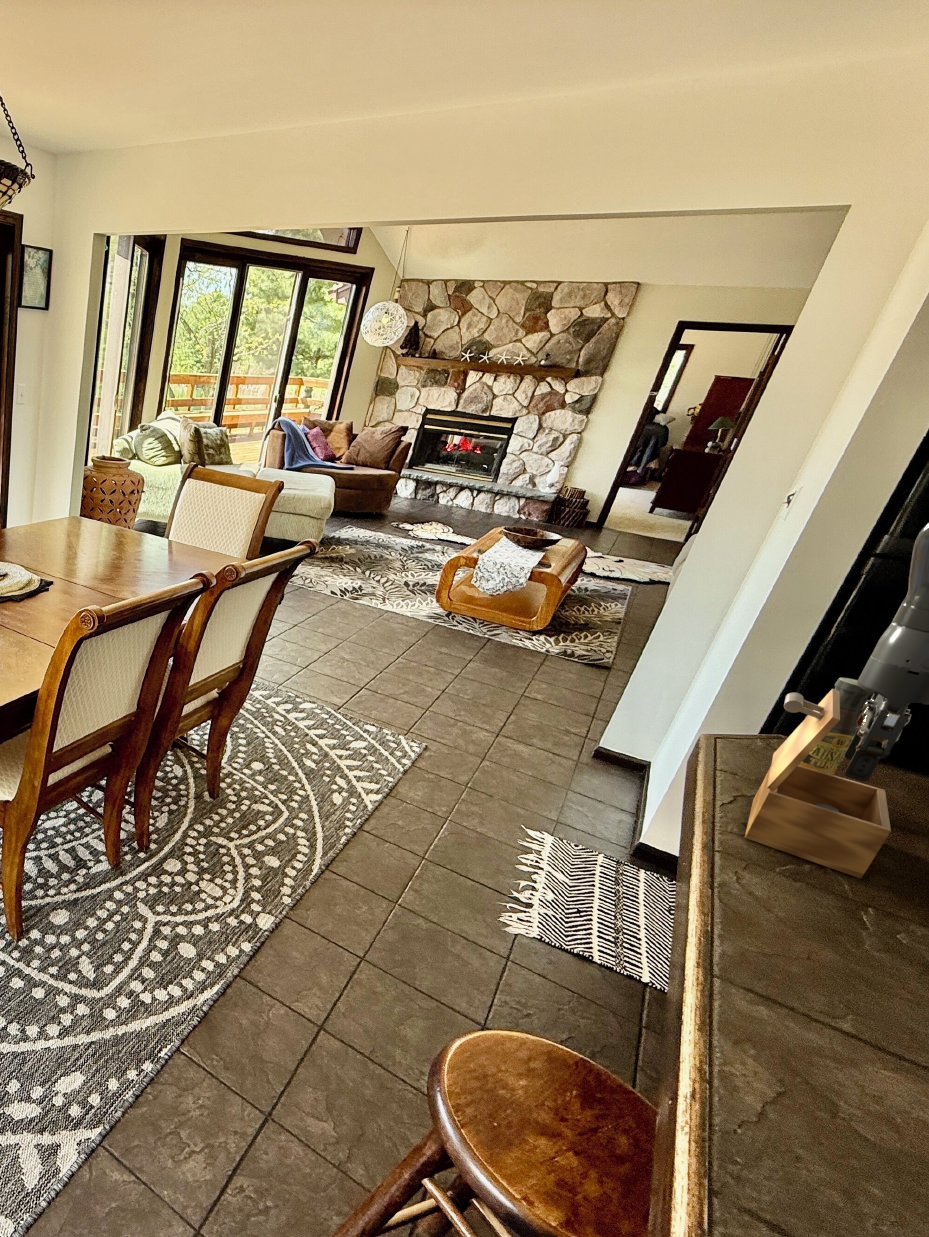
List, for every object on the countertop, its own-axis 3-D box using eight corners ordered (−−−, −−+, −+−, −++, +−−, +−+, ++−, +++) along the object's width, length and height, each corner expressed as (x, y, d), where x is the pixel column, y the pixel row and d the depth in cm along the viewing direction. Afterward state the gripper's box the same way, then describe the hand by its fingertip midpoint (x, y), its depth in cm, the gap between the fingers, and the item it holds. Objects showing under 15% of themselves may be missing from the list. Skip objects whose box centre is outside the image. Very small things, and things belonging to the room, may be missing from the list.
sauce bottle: (782, 795, 114) (842, 685, 106) (758, 777, 119) (813, 671, 112) (832, 804, 112) (896, 692, 105) (805, 785, 118) (864, 678, 110)
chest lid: (839, 691, 102) (797, 675, 105) (840, 720, 92) (793, 701, 94) (779, 756, 108) (741, 740, 111) (773, 791, 98) (731, 771, 101)
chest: (858, 834, 104) (885, 789, 101) (861, 879, 93) (891, 830, 90) (753, 800, 112) (775, 758, 109) (744, 837, 101) (768, 792, 98)
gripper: (870, 643, 98) (817, 744, 104) (874, 663, 89) (815, 773, 95) (953, 659, 93) (891, 764, 99) (965, 682, 84) (897, 796, 90)
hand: (854, 768), depth 97 cm, fingers open, 8 cm apart
